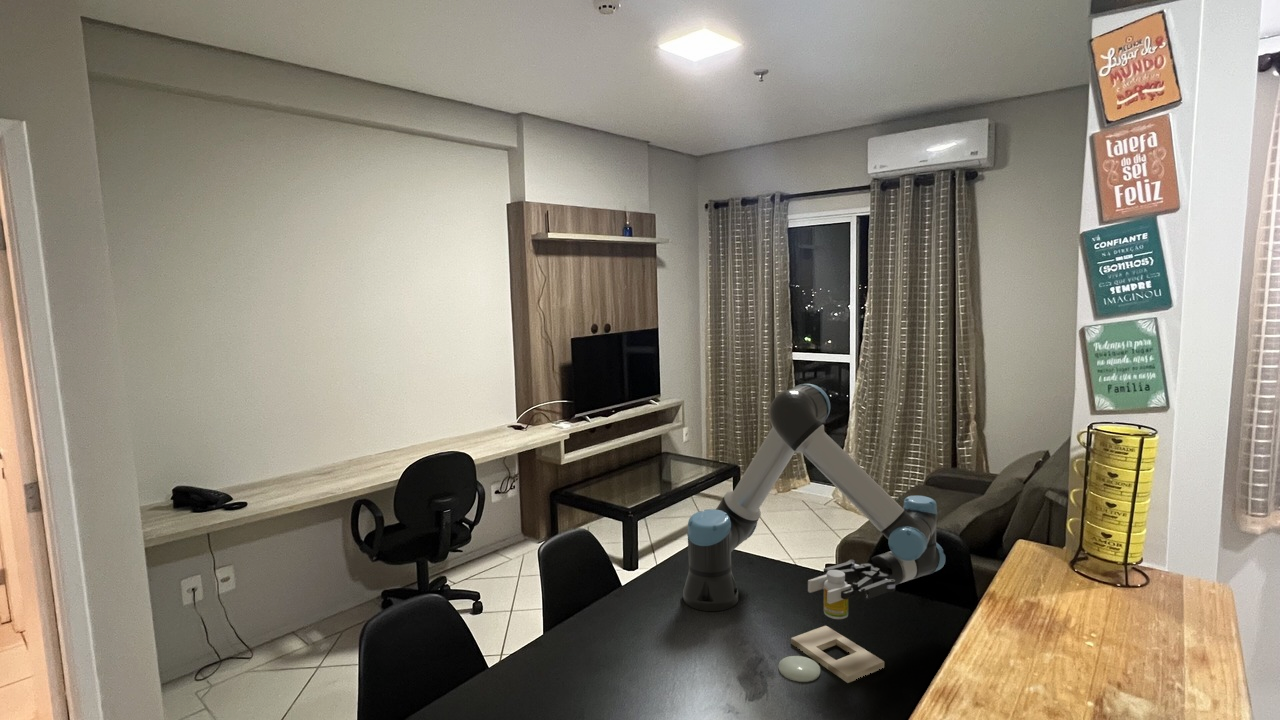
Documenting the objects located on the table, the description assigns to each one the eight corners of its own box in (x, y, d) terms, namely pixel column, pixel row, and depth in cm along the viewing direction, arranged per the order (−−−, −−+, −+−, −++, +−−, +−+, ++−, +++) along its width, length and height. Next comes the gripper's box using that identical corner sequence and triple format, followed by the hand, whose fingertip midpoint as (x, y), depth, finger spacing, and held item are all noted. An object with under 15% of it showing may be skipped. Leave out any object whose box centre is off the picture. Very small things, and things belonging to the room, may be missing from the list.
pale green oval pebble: (770, 665, 145) (770, 663, 144) (800, 654, 149) (800, 651, 149) (797, 686, 137) (797, 684, 137) (829, 673, 141) (829, 671, 141)
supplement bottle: (849, 620, 143) (849, 579, 142) (824, 619, 145) (824, 577, 144) (846, 609, 149) (846, 568, 148) (822, 607, 150) (822, 567, 149)
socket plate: (791, 643, 153) (791, 637, 153) (825, 631, 158) (825, 625, 158) (847, 683, 137) (847, 676, 137) (884, 667, 142) (884, 661, 142)
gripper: (923, 599, 147) (849, 626, 136) (861, 569, 163) (790, 591, 152) (924, 567, 146) (849, 592, 135) (862, 540, 162) (790, 561, 151)
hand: (818, 591), depth 144 cm, fingers closed on supplement bottle, 5 cm apart
